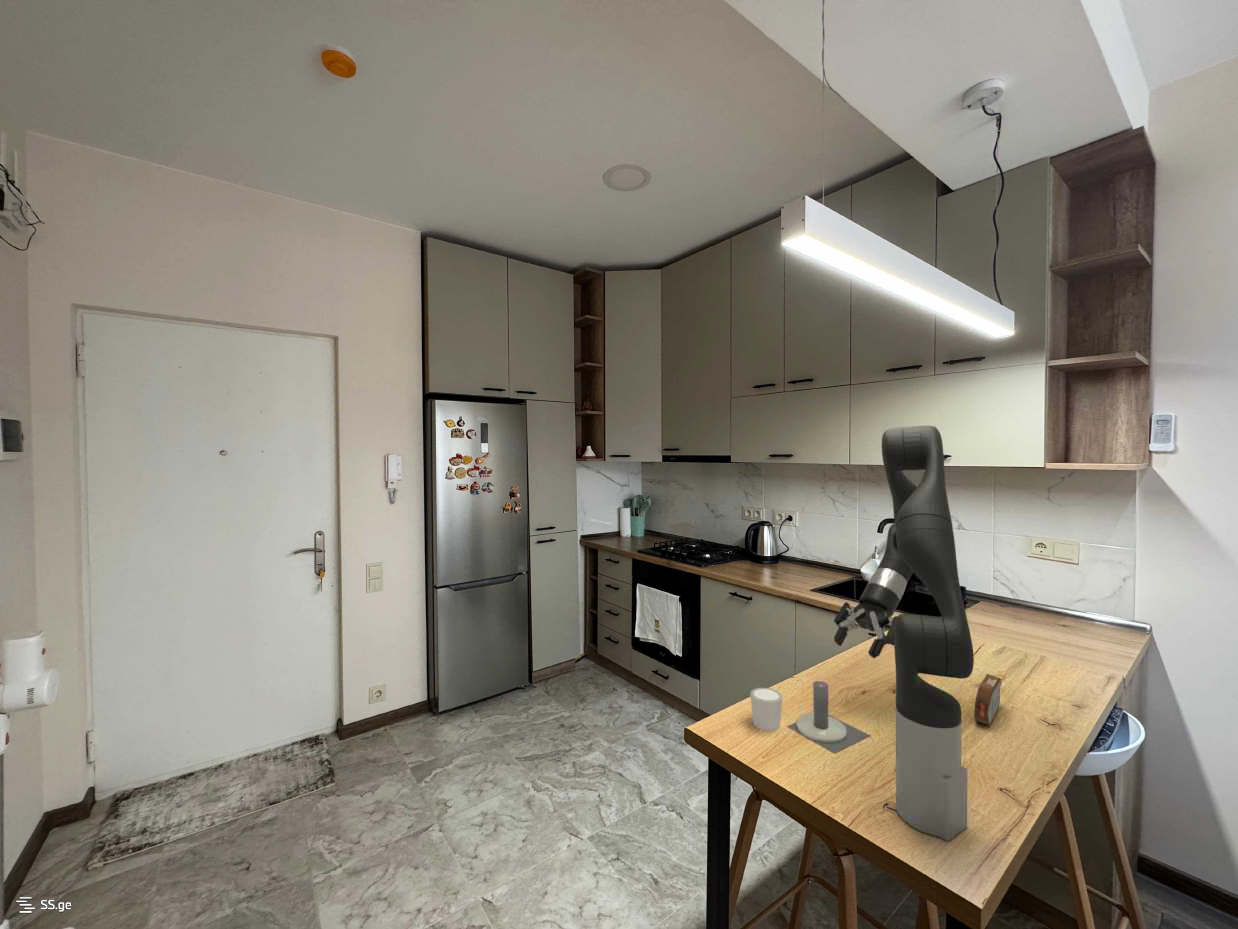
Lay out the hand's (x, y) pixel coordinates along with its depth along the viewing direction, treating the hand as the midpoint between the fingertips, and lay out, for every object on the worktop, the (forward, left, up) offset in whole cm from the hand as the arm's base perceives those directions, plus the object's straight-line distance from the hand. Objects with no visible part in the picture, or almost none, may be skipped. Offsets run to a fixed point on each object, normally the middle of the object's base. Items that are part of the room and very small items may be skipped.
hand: (853, 649), depth 115 cm
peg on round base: (0, +12, -15) cm, 19 cm away
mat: (-1, +11, -15) cm, 19 cm away
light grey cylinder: (+8, +20, -16) cm, 26 cm away
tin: (-16, -25, -16) cm, 34 cm away
